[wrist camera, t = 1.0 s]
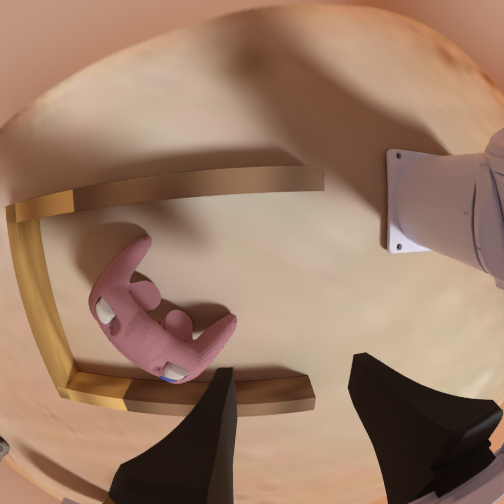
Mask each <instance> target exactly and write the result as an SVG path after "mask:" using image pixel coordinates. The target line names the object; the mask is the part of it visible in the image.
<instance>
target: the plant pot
mask: <svg viewBox="0 0 504 504" xmlns="http://www.w3.org/2000/svg"><path fill="white" fill-rule="evenodd" d="M103 504H115V503H114V502H113V501H112V499H111V498H108V499H107V500H106V501H105V502H104V503H103Z"/></svg>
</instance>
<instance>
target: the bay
mask: <svg viewBox="0 0 504 504" xmlns="http://www.w3.org/2000/svg"><path fill="white" fill-rule="evenodd" d="M294 191H324V169H323V166H264V167H242V168H226V169H212V170H201V171H190V172H180V173H171V174H163V175H155V176H147V177H140V178H133V179H127V180H121V181H115V182H109V183H103V184H98V185H92V186H87V187H82V188H77V189H72V190H68V191H63V192H59V193H54V194H50V195H46V196H42V197H38V198H34V199H30V200H26V201H23V202H19V203H16V204H12V205H9V206H5V208H6V219H7V228H8V235H9V242H10V248H11V254H12V260H13V265H14V270H15V274H16V278H17V283H18V287H19V291H20V294H21V298H22V302H23V305H24V308H25V312H26V315H27V318H28V321H29V324H30V327H31V330H32V333H33V336H34V338H35V341H36V344H37V346H38V349H39V351H40V354H41V356H42V358H43V361H44V363H45V365H46V368H47V370H48V372H49V374H50V376H51V378H52V380H53V383H54V385H55V387H56V389H57V390H58V392H59V394H60V396H61V397H62V398H66V399H70V400H74V401H78V402H82V403H87V404H91V405H96V406H101V407H107V408H113V409H119V410H125V411H132V412H140V413H149V414H159V415H171V416H187V415H188V414H189V413H190V412H191V410H192V409H193V408H194V406H195V405H196V404H197V402H198V401H199V400H200V398H201V397H202V395H203V394H204V392H205V390H206V389H207V387H208V386H209V384H210V382H184V383H181V384H174V383H170V382H167V381H153V380H140V379H129V378H120V377H111V376H103V375H96V374H90V373H84V372H79V371H78V369H77V366H76V364H75V361H74V359H73V356H72V354H71V351H70V348H69V346H68V343H67V340H66V337H65V334H64V331H63V328H62V325H61V322H60V319H59V315H58V312H57V308H56V305H55V301H54V297H53V294H52V290H51V285H50V281H49V277H48V272H47V267H46V262H45V257H44V251H43V245H42V239H41V231H40V223H39V218H42V217H47V216H53V215H58V214H64V213H70V212H76V211H82V210H89V209H95V208H102V207H109V206H116V205H124V204H132V203H140V202H149V201H158V200H168V199H178V198H189V197H201V196H214V195H228V194H245V193H265V192H294ZM235 389H236V398H237V417H243V416H261V415H274V414H284V413H293V412H301V411H308V410H314V407H315V399H316V397H315V394H314V391H313V388H312V385H311V382H310V379H309V376H301V377H292V378H282V379H271V380H257V381H238V382H235Z"/></svg>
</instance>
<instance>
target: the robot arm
mask: <svg viewBox="0 0 504 504" xmlns="http://www.w3.org/2000/svg"><path fill="white" fill-rule="evenodd" d="M397 153H398V154H399V159H398V158H397V156H396V155H397ZM386 159H387V181H388V229H387V250H388V251H389V252H390V253H393V254H394V253H407V252H420V251H432V250H433V251H435V252H438V253H440V254H443V255H445V256H448V257H450V258H453V259H455V260H457V261H460V262H462V263H465V264H467V265H469V266H472V267H474V268H476V269H479V270H481V271H483V272H485V273H488V274H490V275H491V276H493V277H494V279H495V281H496V287H498V288H500V289H502V290H504V128H503V129H501V130H499V131H498V132H496V133H495V134H494V135H493V136H492V137H491V139H490V141H489V144H488V146H487V147H486V149H485V152H484V153H478V154H462V155H449V156H440V155H434V154H428V153H422V152H415V151H407V150H399V149H389V150H388V151H387V153H386ZM398 244H399V248H398V249H397V245H398ZM348 390H349V393H350V396H351V399H352V402H353V405H354V407H355V409H356V411H357V413H358V415H359V417H360V419H361V421H362V423H363V425H364V427H365V429H366V431H367V433H368V435H369V437H370V439H371V442H372V444H373V447H374V450H375V453H376V456H377V459H378V462H379V465H380V469H381V472H382V476H383V480H384V485H385V489H386V494H387V500H388V504H495V503H496V502H497V501H498V500H499V499H501V498H502V497H503V496H504V444H503V445H502V447H501V448H500V449H499V450H497V451H496V452H495V453H494V454H493V452H492V451H491V450H490V449H489V447H490V446H491V442H490V441H489V440H488V439H489V437H490V436H491V434H492V433H493V432H494V430H495V429H496V427H497V426H498V424H499V422H500V421H501V419H502V416H503V410H502V409H501V408H500V407H499V406H498V405H497V404H496V403H495V402H494V401H493V400H483V399H470V398H464V397H458V396H454V395H450V394H446V393H443V392H439V391H436V390H433V389H431V388H428V387H426V386H423V385H421V384H419V383H417V382H415V381H413V380H411V379H409V378H407V377H405V376H403V375H402V374H400V373H398V372H396V371H395V370H393V369H392V368H390V367H388V366H387V365H385V364H384V363H382V362H381V361H379V360H377V359H376V358H374V357H373V356H371V355H369V354H368V353H366V352H365V353H360V354H354V356H353V362H352V368H351V373H350V379H349V384H348ZM236 427H237V398H236V389H235V381H234V372H233V367H230V368H218V369H217V370H216V372H215V374H214V376H213V378H212V380H211V382H210V384H209V386H208V387H207V389H206V390H205V392H204V394H203V395H202V397H201V398H200V400H199V401H198V402H197V404H196V405H195V406H194V408H193V409H192V410H191V412H190V413H189V414H188V415H187V416H186V417H185V419H184V420H183V421H182V422H181V423H180V424H179V425H178V426H177V427H176V428H175V429H174V430H173V431H172V432H170V433H169V434H168V435H167V436H166V437H165V438H163V439H162V440H161V441H160V442H158V443H157V444H155V445H154V446H153V447H151V448H150V449H148V450H147V451H145V452H144V453H142V454H140V455H139V456H137V457H135V458H133V459H131V460H129V461H127V462H125V463H123V464H121V465H120V467H119V469H118V470H117V472H116V474H115V476H114V479H113V481H112V484H111V487H110V490H109V497H110V498H111V499H112V501H113V502H114V503H115V504H234V502H233V455H234V446H235V436H236ZM61 504H79V503H77V502H74V501H72V500H70V499H67V498H63V501H62V503H61Z"/></svg>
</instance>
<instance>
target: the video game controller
mask: <svg viewBox="0 0 504 504" xmlns="http://www.w3.org/2000/svg"><path fill="white" fill-rule="evenodd" d="M150 245H151V237H150V236H149V235H145V236H141V237H139V238H137V239H136V240H134V241H133V242H132V243H130V244H129V245H128V246H127V247H126V248H125V249H124V250H123V251H122V252H121V253H120V254H119V255H118V256H116V257H115V258H114V259H113V260H112V262H111V263H110V264H109V265H108V266H107V268H106V269H105V270H104V272H103V273H102V274H101V276H100V277H99V278H98V280H97V281H96V283H95V284H94V286H93V288H92V290H91V293H90V295H89V308H90V311H91V313H92V315H93V317H94V318H95V319H96V320H97V321H98V323H99V325H100V327H101V329H102V330H103V332H104V333H105V335H106V336H107V338H108V339H109V341H110V342H111V343H112V344H113V345H114V346H115V347H116V348H117V349H118V350H119V351H120V352H121V353H122V354H123V355H124V356H125V357H126V358H127V359H129V360H130V361H131V362H133V363H134V364H135V365H137V366H138V367H140V368H142V369H143V370H145V371H147V372H149V373H151V374H153V375H155V376H158V377H160V378H162V379H163V380H165V381H167V382H170V383H174V384H181V383H184V382H187V381H189V380H192V379H194V378H196V377H197V376H198V375H199V374H200V373H202V372H203V371H204V370H205V369H206V367H207V366H208V365H209V364H210V363H211V362H212V361H213V359H214V358H215V357H216V356H217V355H218V353H219V352H220V351H221V349H222V348H223V347H224V345H225V344H226V343H227V341H228V340H229V338H230V337H231V336H232V334H233V332H234V330H235V327H236V323H237V318H236V316H235V315H234V314H230V315H226V316H225V317H222V318H221V319H219V320H218V321H216V322H215V323H214V324H212V325H211V326H210V327H209V328H208V329H206V330H205V331H204V332H203V333H202V334H201V335H200V336H199V337H198V338H197V339H196V340H193V339H192V330H193V325H192V321H191V319H190V317H189V316H188V315H187V314H186V313H184V312H183V311H180V310H172V311H170V312H169V313H168V314H166V315H165V316H164V317H163V318H162V319H161V322H160V325H159V324H158V323H157V322H156V321H155V320H154V319H153V318H151V317H150V316H149V315H148V313H149V312H151V311H152V310H154V309H155V308H156V307H157V306H158V305H159V304H160V301H161V295H160V292H159V290H158V289H157V287H156V286H155V285H154V284H153V283H151V282H149V281H139V282H136V283H130V278H131V276H132V274H133V272H134V270H135V269H136V267H137V266H138V264H139V263H140V262H141V260H142V259H143V257H144V256H145V254H146V252H147V251H148V249H149V247H150Z"/></svg>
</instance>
